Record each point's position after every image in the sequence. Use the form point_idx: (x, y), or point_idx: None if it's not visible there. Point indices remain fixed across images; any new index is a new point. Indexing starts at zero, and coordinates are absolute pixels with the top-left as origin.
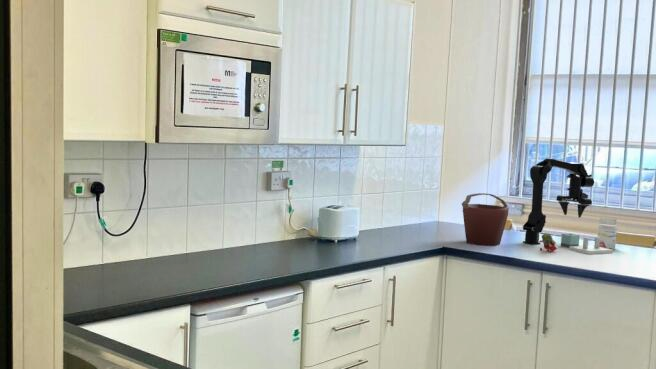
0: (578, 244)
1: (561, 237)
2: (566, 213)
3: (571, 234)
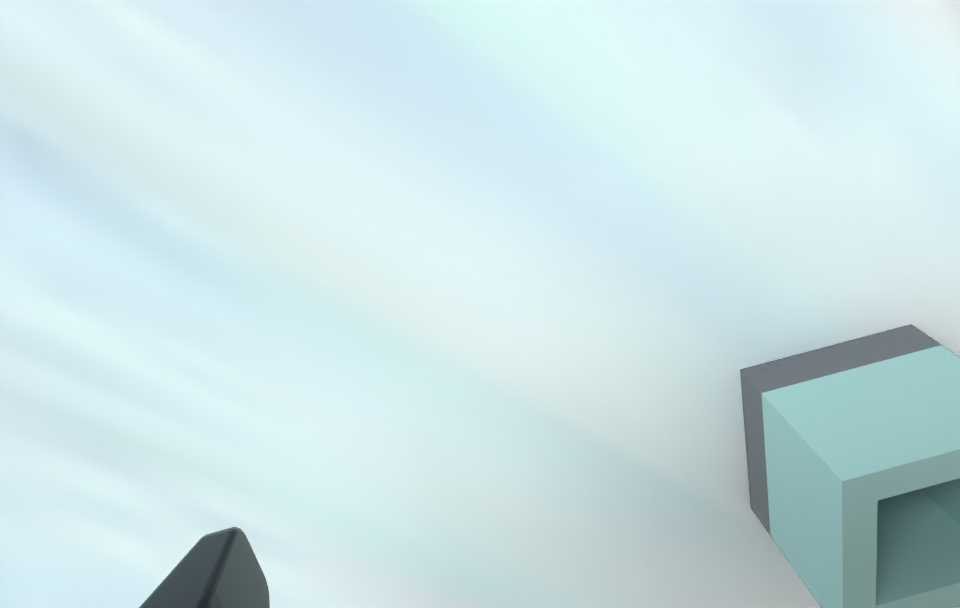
0: (938, 348)
1: (815, 592)
2: (233, 578)
3: (901, 487)
